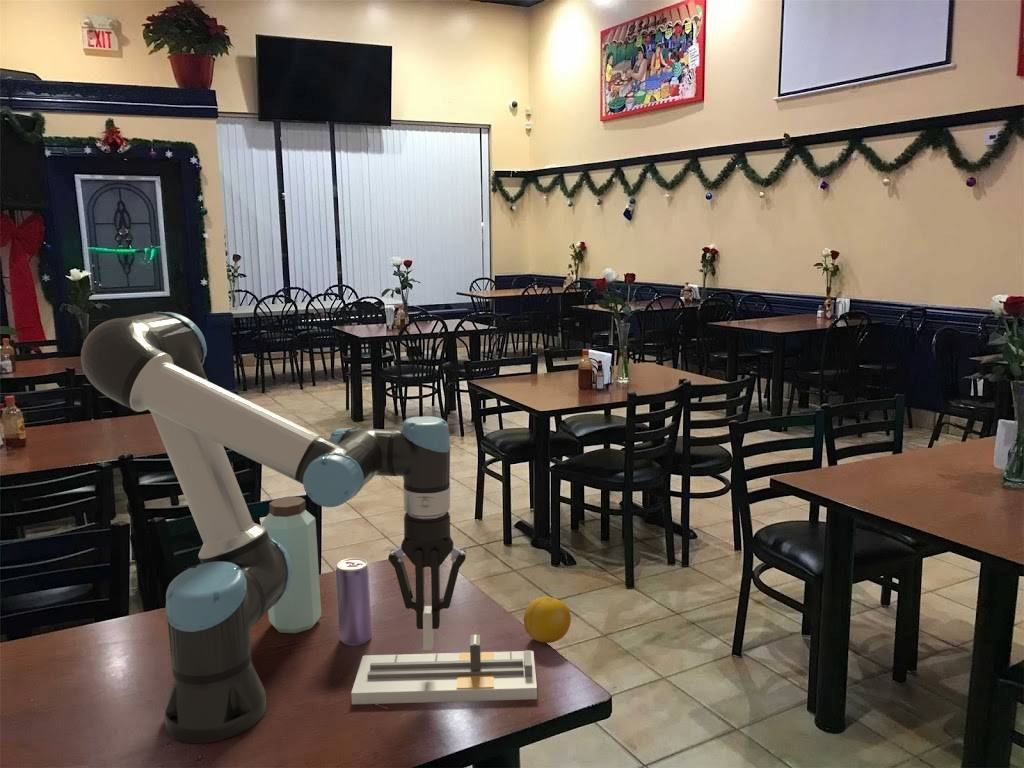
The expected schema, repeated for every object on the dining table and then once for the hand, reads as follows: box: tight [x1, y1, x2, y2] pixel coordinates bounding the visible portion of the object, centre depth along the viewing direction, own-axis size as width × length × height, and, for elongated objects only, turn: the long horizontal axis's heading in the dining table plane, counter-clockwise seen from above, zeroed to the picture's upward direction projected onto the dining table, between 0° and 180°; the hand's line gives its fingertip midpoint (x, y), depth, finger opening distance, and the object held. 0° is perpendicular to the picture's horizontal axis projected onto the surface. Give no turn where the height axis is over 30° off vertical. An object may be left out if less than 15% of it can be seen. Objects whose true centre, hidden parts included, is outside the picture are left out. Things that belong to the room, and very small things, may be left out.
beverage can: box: [335, 557, 373, 647], centre depth 151 cm, size 6×6×15 cm
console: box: [350, 649, 538, 705], centre depth 137 cm, size 30×12×4 cm, turn 91°
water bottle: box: [261, 496, 322, 634], centre depth 157 cm, size 10×10×25 cm
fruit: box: [523, 595, 572, 644], centre depth 150 cm, size 9×8×8 cm
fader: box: [469, 634, 482, 670], centre depth 136 cm, size 2×4×6 cm, turn 1°
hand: (428, 645), depth 136 cm, fingers closed
